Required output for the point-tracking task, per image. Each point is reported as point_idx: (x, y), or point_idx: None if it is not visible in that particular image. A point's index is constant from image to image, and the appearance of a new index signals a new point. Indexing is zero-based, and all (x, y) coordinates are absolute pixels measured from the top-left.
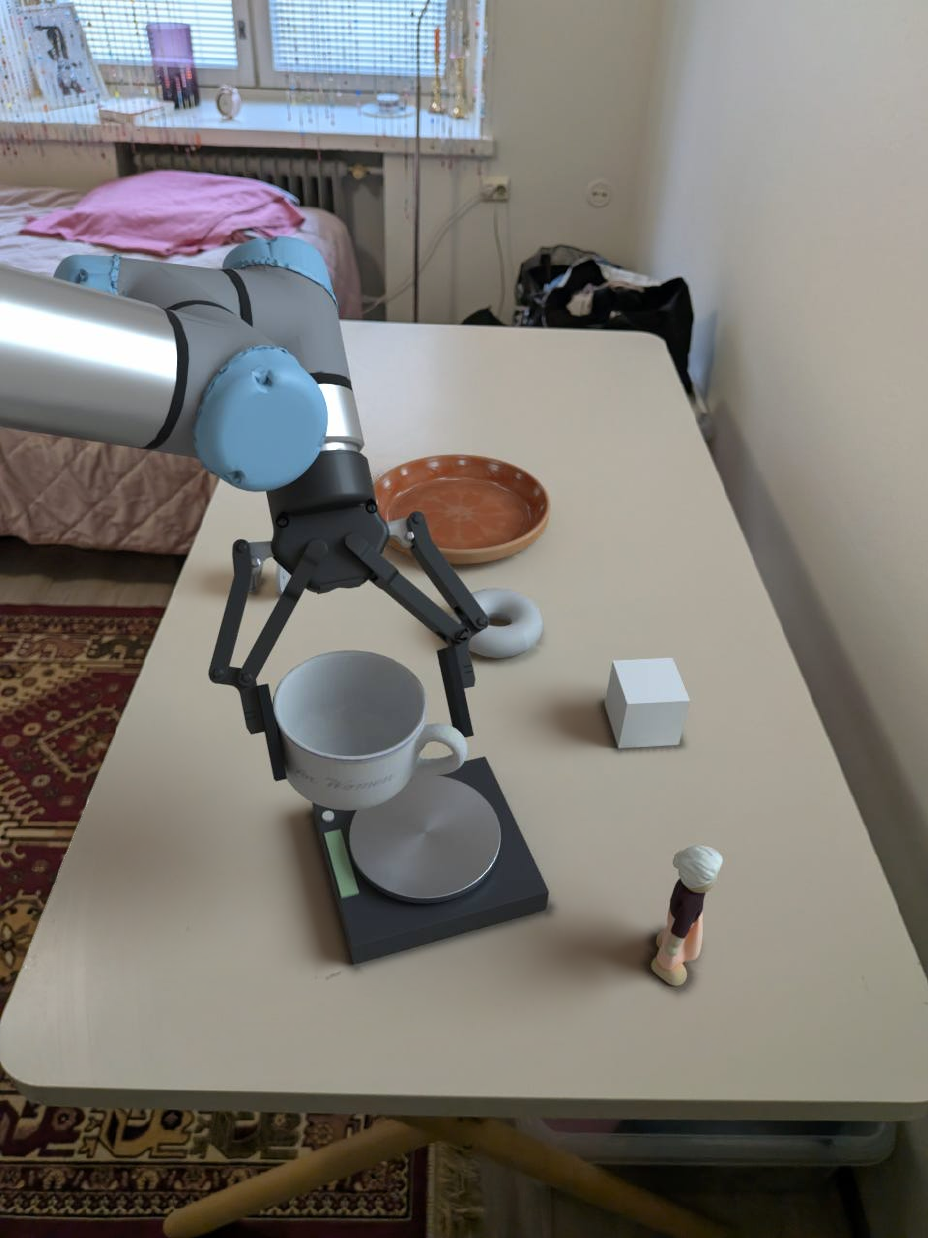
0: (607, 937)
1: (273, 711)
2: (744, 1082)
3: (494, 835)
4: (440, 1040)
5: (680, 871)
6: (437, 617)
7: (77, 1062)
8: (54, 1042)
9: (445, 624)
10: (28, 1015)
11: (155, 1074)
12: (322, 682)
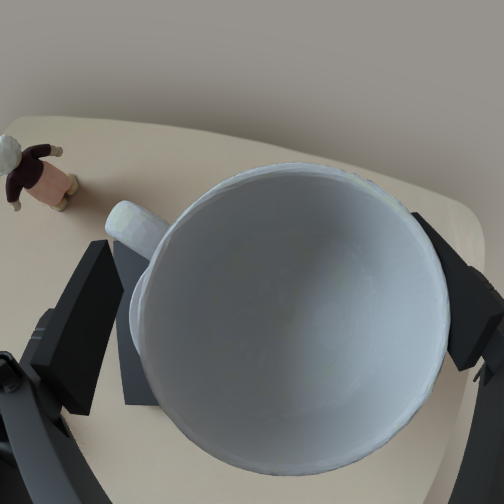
0: (92, 215)
1: (460, 278)
2: (73, 121)
3: (137, 298)
4: (231, 163)
5: (16, 147)
6: (31, 438)
7: (451, 207)
8: (464, 223)
9: (23, 415)
10: (479, 244)
11: (412, 188)
12: (330, 433)
